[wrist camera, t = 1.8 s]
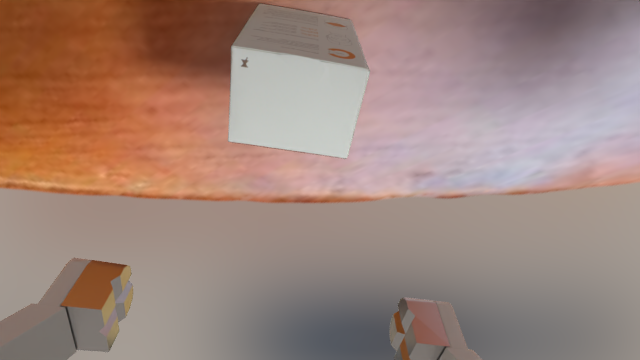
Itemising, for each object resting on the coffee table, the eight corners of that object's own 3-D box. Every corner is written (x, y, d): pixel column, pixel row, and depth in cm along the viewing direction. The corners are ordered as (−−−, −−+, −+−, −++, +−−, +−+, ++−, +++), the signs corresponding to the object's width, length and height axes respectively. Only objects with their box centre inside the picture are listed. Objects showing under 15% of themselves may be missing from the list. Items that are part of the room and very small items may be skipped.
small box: (252, 75, 36) (224, 143, 25) (258, 1, 32) (228, 42, 22) (339, 89, 37) (348, 161, 26) (354, 19, 33) (371, 67, 22)
